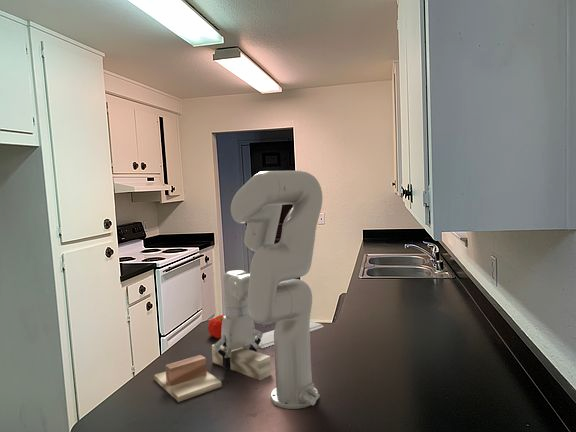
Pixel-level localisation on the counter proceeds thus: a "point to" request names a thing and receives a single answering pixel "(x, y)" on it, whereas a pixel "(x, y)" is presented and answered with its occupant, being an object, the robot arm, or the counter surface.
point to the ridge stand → (187, 378)
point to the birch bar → (246, 362)
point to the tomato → (215, 326)
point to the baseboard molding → (269, 336)
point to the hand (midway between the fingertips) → (240, 364)
